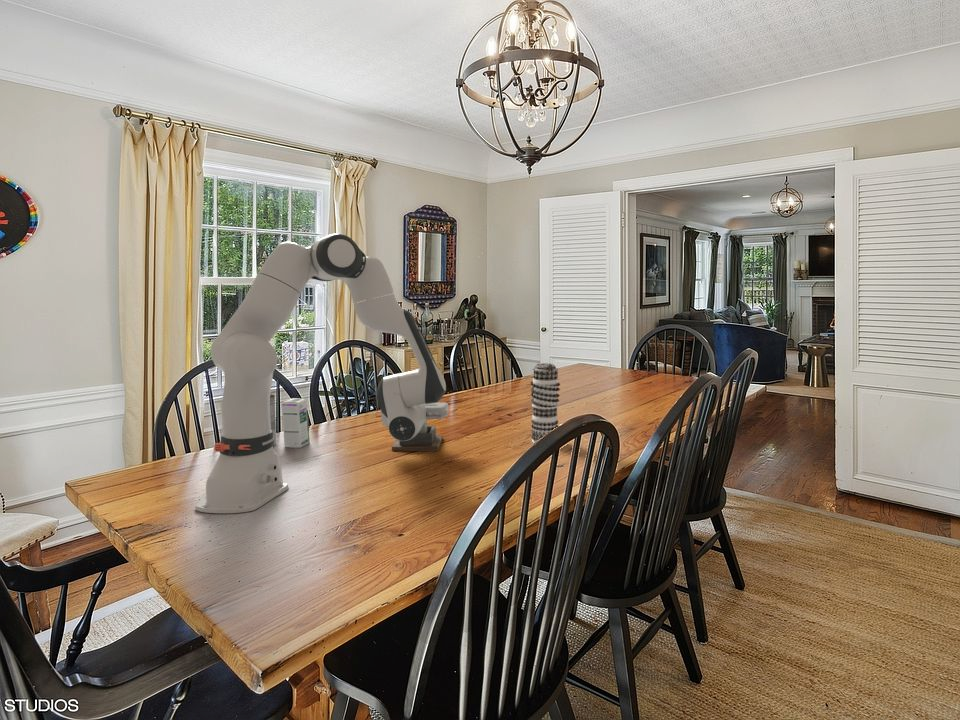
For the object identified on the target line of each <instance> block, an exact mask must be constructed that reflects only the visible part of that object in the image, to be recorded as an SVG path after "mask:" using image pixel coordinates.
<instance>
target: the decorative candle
mask: <svg viewBox="0 0 960 720" xmlns="http://www.w3.org/2000/svg"><path fill="white" fill-rule="evenodd" d="M532 370H533V378H532V381H530V386H532V387H531V388H530V391H531V394H530V396H531V397H532V398H531V399H530V401H531V406H532V412H533V413H532V418H531V428H532V429H531V431H530V433H531V440H532V442H533V443H532V442H531V443H532V444H534V443H535V442H536V441H537V440H539V439H540V438H542V437H543V436H544V435H546V434H547V433H549V432H550V431H552V430H553V429H554V428H556V427H558V428H559V426H558V424H559V421H558V408H559V404H558V403H559V402H560V399H559V397H560V394H559V393H558V392H559V391H560V390H561V388H559V387H560V386H561V383H560V382H559V378H558V377H559V376H558V374H559V372H558V371H559V369H558V368H557V366H556V365H555V364H554V363H547V362H545V363H537V364H535V366H534V367H533V368H532Z"/></svg>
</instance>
